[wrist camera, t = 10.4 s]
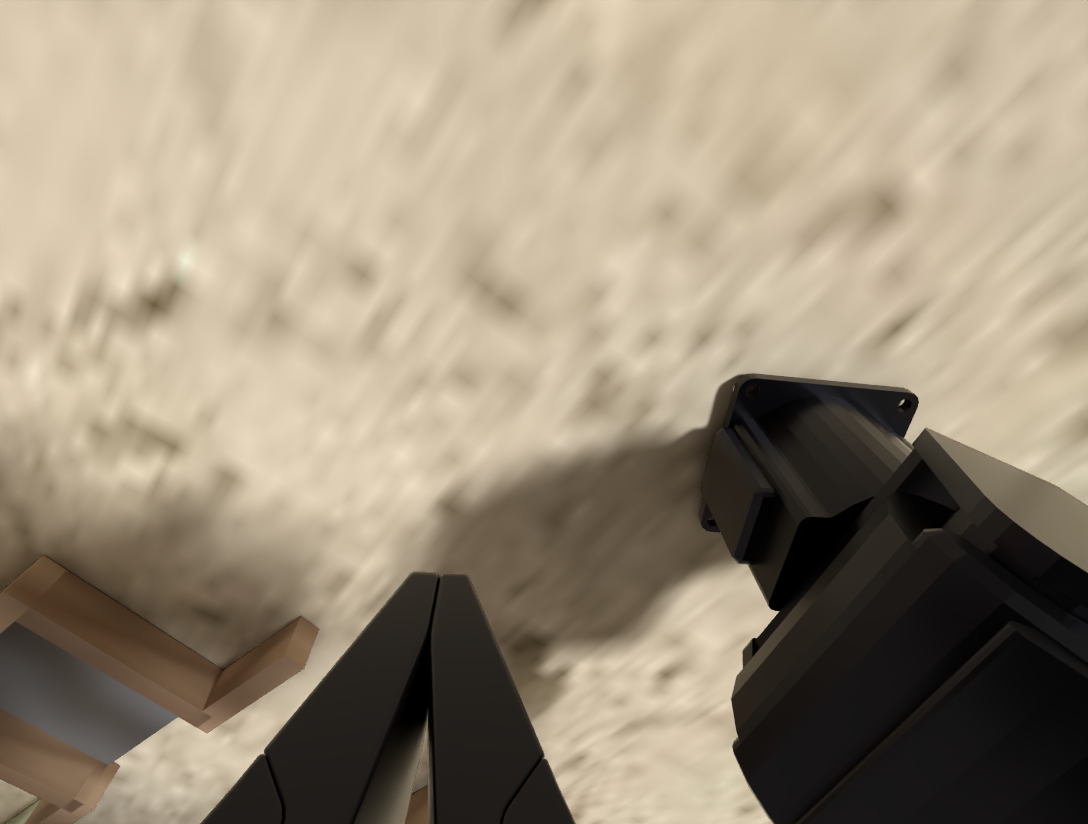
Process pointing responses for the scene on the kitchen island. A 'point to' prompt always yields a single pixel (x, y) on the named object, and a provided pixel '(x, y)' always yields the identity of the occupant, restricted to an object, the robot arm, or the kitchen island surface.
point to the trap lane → (111, 689)
